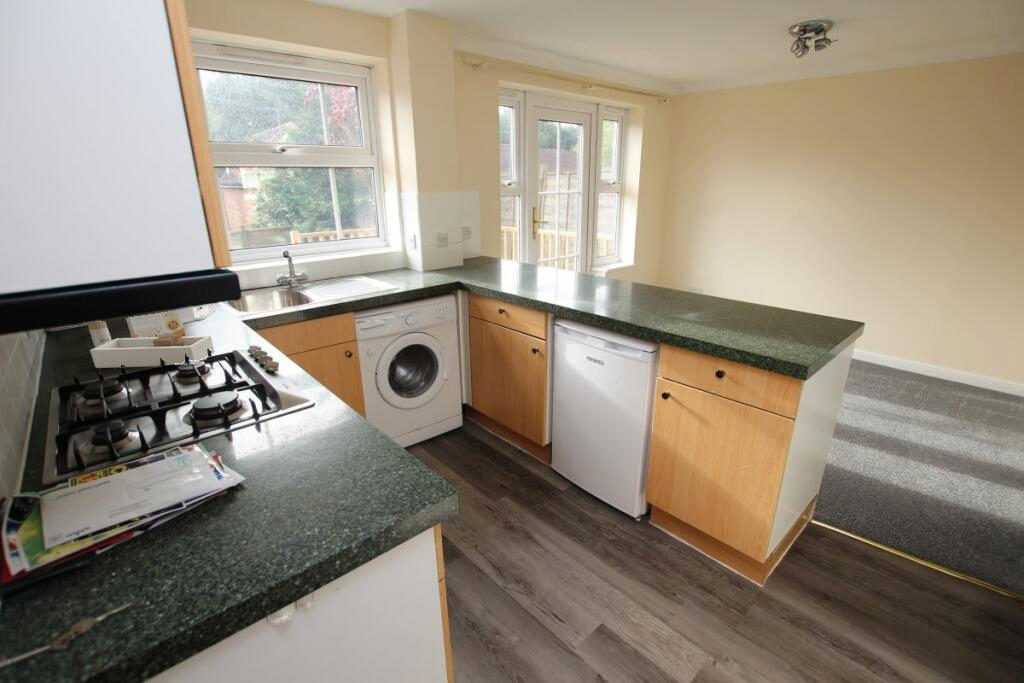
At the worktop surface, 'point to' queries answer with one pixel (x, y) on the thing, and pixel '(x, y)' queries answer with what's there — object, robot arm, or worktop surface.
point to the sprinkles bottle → (99, 333)
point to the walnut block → (168, 341)
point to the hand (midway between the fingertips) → (76, 197)
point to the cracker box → (156, 325)
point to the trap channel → (148, 352)
